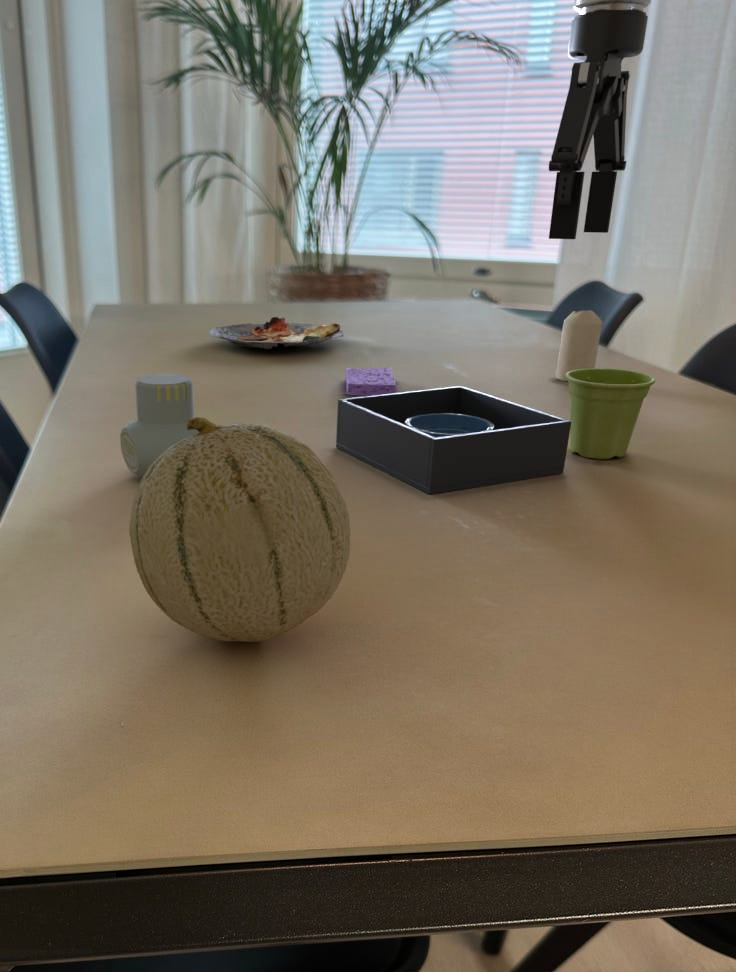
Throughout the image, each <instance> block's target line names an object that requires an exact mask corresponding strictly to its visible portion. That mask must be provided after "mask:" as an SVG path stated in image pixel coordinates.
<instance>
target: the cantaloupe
mask: <svg viewBox="0 0 736 972" xmlns="http://www.w3.org/2000/svg"><path fill="white" fill-rule="evenodd" d="M194 417H195V416H194ZM187 430H198V431H199V432H198V433H196V434H194V435H192V436H190V437H187V438H185V439H183V440H181V441H179V442H178V443H176V444H174V445H173V446H171V447H169V448H168V449H167V450H166V451H164V452H163V453H162V454H161V455H160V456H159V457H158V458H157V459H156V460H155V461H154V462H153V464H152V465H151V466H150V467H149V468H148V470H147V472H146V474H145V475H144V476H143V478H141V480H140V481H139V485H138V486H137V488H136V491H135V494H134V497H133V501H132V504H131V508H130V515H129V524H128V525H129V526H128V532H129V540H130V546H131V550H132V556H133V561H134V565H135V567H136V571H137V573H138V575H139V579H140V581H141V583H142V586H143V588H144V589H145V591H146V593H147V594H148V596H149V598H151V600H152V602H154V604H155V605H156V606H157V607H158V608H159V609H160V611H162V612H163V613H164V615H166V617H168V618H169V619H170V620H171V621H173V622H174V623H176V624H177V625H178V626H180V627H183V628H184V629H186V630H189V631H190V632H192V633H194V634H197V635H199V636H202V637H206V638H209V639H212V640H216V641H222V642H248V643H249V642H251V643H257V642H262V641H267V640H271V639H274V638H276V637H278V636H281V635H282V634H285V633H287V632H290V631H291V630H293V629H295V628H297V627H298V626H300V625H301V624H303V623H304V622H305V621H306V620H308V619H309V618H311V617H312V616H314V615H315V614H317V613H318V612H319V611H320V610H321V609H322V608H323V607H324V606H325V605H326V604H327V602H328V601H329V600H330V599H331V598H333V595H334V594H335V592H336V591H337V589H338V588H339V586H340V583H341V581H342V579H343V577H344V575H345V572H346V570H347V566H348V563H349V559H350V552H351V527H350V525H351V524H350V523H351V522H350V515H349V511H348V508H347V503H346V500H345V498H344V495H343V494H342V491H341V490H340V487H339V486H338V484H337V481H336V480H335V478H334V476H333V474H332V473H331V471H330V469H329V468H328V466H327V465H326V464H325V463H324V461H322V460H321V458H320V457H319V455H318V454H317V453H316V452H315V451H314V450H313V449H312V448H311V447H309V445H308V444H306V443H304V442H303V441H302V440H300V439H299V438H297V437H295V436H293V435H292V434H290V433H288V432H285V431H283V430H280V429H278V428H277V427H276V428H275V427H272V426H269V425H264V424H258V423H251V422H250V423H244V422H238V423H237V422H235V423H231V424H228V425H220V424H215V423H214V422H211V421H210V420H209V419H207V418H205V417H197V416H196V417H195V418H191V419H190V420H189V421H188V423H187Z"/></svg>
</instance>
